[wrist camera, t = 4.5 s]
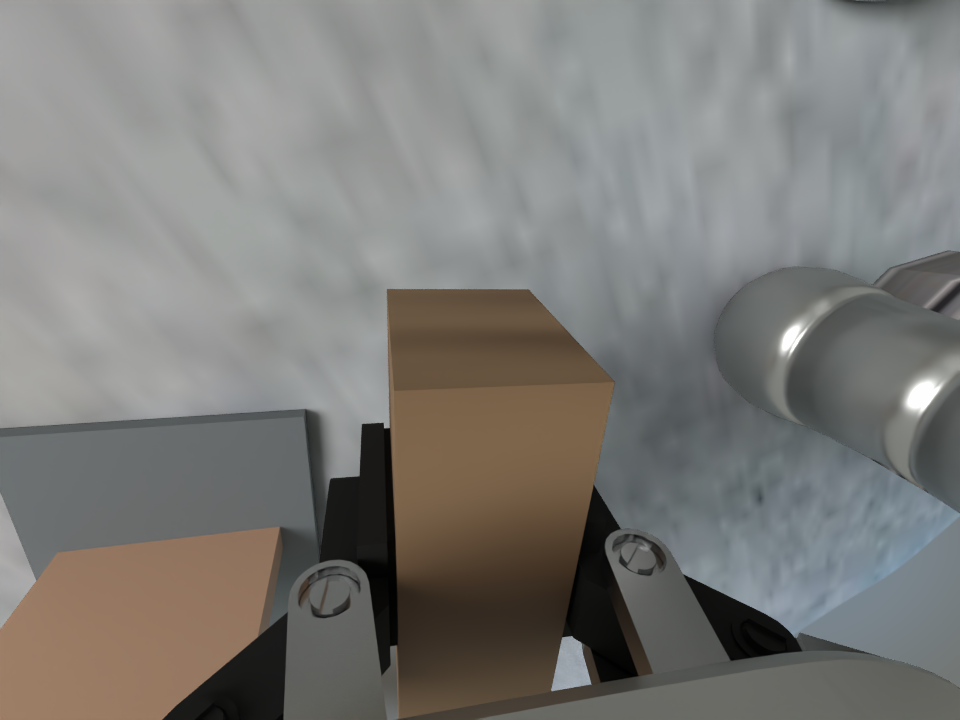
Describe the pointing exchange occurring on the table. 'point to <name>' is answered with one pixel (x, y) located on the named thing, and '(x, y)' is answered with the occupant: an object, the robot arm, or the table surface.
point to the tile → (135, 625)
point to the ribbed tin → (926, 288)
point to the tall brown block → (485, 492)
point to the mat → (163, 485)
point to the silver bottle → (850, 369)
